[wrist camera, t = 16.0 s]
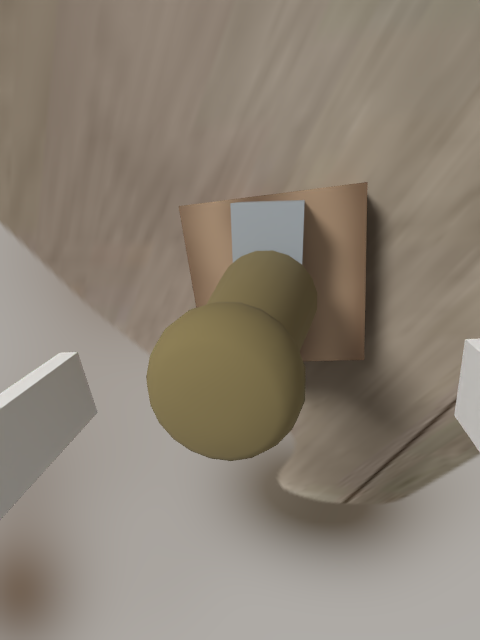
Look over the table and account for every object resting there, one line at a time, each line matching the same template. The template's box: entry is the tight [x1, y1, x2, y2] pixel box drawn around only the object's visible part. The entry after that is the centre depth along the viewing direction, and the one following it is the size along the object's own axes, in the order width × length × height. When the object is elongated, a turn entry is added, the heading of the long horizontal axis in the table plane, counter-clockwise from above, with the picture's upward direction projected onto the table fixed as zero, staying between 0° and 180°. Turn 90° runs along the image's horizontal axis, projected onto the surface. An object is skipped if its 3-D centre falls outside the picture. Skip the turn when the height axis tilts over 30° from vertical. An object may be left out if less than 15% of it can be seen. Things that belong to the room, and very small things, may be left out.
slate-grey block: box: [230, 200, 305, 264], centre depth 21 cm, size 4×11×4 cm, turn 1°
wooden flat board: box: [179, 182, 367, 361], centre depth 24 cm, size 12×12×4 cm
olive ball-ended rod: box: [146, 250, 317, 461], centre depth 14 cm, size 6×6×11 cm
